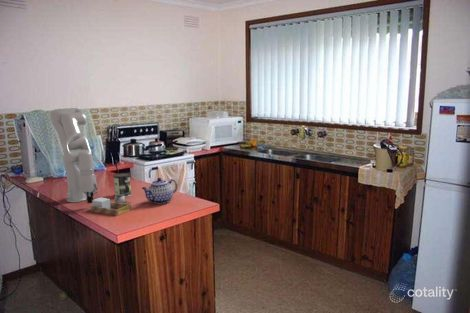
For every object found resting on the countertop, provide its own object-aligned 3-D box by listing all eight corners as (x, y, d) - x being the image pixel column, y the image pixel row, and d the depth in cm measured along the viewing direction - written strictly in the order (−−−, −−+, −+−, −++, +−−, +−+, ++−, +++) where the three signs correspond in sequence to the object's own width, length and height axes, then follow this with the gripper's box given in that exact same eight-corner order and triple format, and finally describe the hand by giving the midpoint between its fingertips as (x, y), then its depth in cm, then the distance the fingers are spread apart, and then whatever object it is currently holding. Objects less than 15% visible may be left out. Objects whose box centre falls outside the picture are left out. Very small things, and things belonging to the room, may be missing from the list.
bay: (90, 211, 216) (90, 206, 216) (105, 205, 226) (104, 200, 226) (117, 215, 208) (116, 210, 207) (131, 209, 218) (130, 204, 217)
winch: (109, 204, 228) (108, 197, 227) (118, 201, 235) (118, 194, 234) (122, 206, 224) (121, 199, 223) (131, 202, 231) (130, 195, 230)
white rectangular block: (93, 209, 219) (92, 200, 218) (101, 207, 224) (100, 197, 223) (102, 211, 215) (101, 201, 214) (110, 208, 220) (109, 199, 219)
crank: (119, 197, 226) (118, 188, 225) (116, 196, 228) (115, 188, 227) (130, 192, 235) (130, 184, 234) (127, 192, 236) (126, 184, 235)
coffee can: (134, 193, 251) (132, 173, 249) (126, 198, 241) (125, 176, 239) (120, 193, 253) (118, 172, 251) (112, 197, 243) (110, 176, 241)
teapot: (171, 194, 246) (170, 172, 243) (185, 199, 234) (183, 176, 232) (136, 203, 229) (134, 179, 226) (149, 208, 218) (147, 183, 215)
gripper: (72, 173, 220) (76, 203, 223) (91, 174, 213) (95, 205, 216) (82, 170, 226) (86, 199, 229) (101, 171, 220) (104, 201, 223)
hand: (90, 202), depth 223 cm, fingers closed
